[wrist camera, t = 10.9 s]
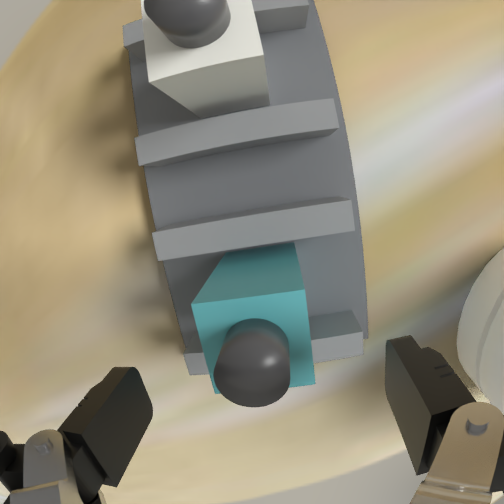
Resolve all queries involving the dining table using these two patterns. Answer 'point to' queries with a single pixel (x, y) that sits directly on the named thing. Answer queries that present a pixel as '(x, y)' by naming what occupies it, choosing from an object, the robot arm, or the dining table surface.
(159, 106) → the comb board
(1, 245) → the dining table surface
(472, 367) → the honey pot
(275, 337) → the teal plug
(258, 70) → the white plug
